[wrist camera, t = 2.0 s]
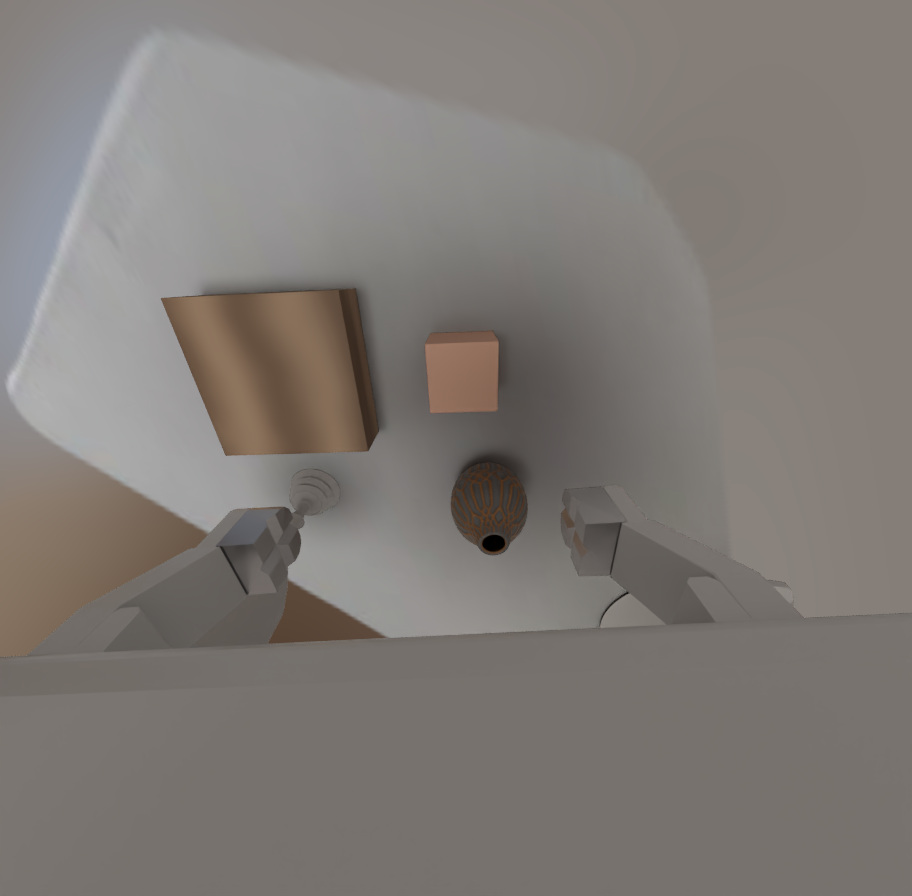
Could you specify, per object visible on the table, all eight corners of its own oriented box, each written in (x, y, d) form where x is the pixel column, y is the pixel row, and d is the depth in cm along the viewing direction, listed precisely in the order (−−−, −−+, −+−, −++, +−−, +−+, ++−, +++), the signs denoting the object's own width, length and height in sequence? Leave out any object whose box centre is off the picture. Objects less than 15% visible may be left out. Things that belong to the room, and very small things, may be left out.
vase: (484, 438, 31) (493, 492, 23) (534, 479, 33) (557, 541, 25) (437, 484, 33) (430, 547, 26) (486, 519, 35) (494, 588, 28)
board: (355, 288, 25) (338, 290, 22) (378, 431, 31) (368, 451, 27) (202, 295, 26) (160, 298, 22) (252, 435, 31) (225, 455, 28)
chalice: (286, 450, 32) (111, 625, 16) (355, 472, 33) (257, 656, 17) (277, 507, 35) (124, 700, 19) (340, 525, 36) (246, 723, 20)
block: (492, 330, 27) (498, 341, 22) (491, 390, 29) (497, 411, 24) (430, 333, 27) (424, 344, 22) (434, 392, 29) (430, 413, 25)
